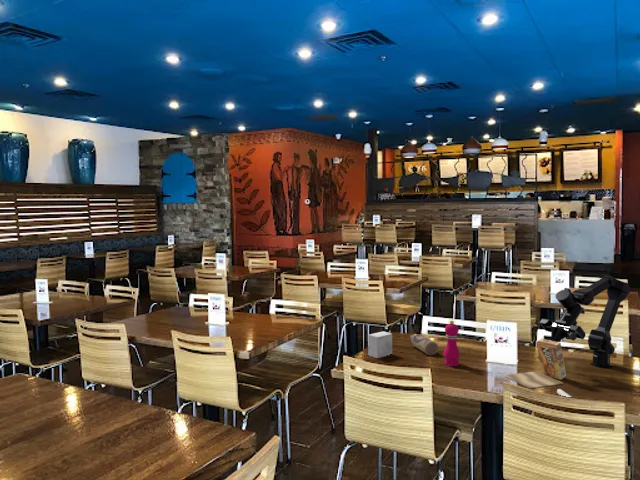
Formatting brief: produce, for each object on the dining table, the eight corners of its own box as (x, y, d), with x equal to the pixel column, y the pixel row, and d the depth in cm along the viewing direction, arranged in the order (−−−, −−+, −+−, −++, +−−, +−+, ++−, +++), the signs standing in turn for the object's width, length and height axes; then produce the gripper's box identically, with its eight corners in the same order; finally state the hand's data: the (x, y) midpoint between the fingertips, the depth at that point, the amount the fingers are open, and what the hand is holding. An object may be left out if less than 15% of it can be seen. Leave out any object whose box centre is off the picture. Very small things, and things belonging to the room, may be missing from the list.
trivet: (535, 372, 229) (535, 371, 229) (563, 383, 214) (563, 382, 214) (504, 376, 224) (504, 375, 224) (530, 388, 209) (530, 387, 209)
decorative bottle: (439, 355, 257) (439, 341, 257) (424, 356, 256) (424, 342, 255) (418, 341, 283) (418, 329, 282) (405, 342, 281) (404, 330, 281)
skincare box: (377, 358, 253) (377, 336, 252) (368, 355, 258) (367, 334, 257) (392, 354, 259) (392, 333, 259) (383, 351, 264) (383, 330, 264)
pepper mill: (441, 362, 245) (441, 319, 244) (456, 361, 246) (456, 318, 244) (446, 367, 238) (446, 322, 237) (462, 366, 239) (462, 322, 237)
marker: (587, 412, 185) (587, 405, 185) (581, 412, 185) (581, 406, 185) (562, 394, 203) (562, 388, 203) (556, 394, 203) (556, 388, 203)
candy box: (566, 375, 220) (561, 342, 217) (561, 380, 218) (555, 346, 215) (547, 370, 227) (541, 337, 224) (541, 375, 225) (535, 342, 222)
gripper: (599, 331, 220) (581, 361, 216) (560, 323, 237) (542, 351, 232) (587, 314, 216) (568, 345, 212) (548, 307, 233) (530, 335, 228)
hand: (552, 344), depth 221 cm, fingers closed
